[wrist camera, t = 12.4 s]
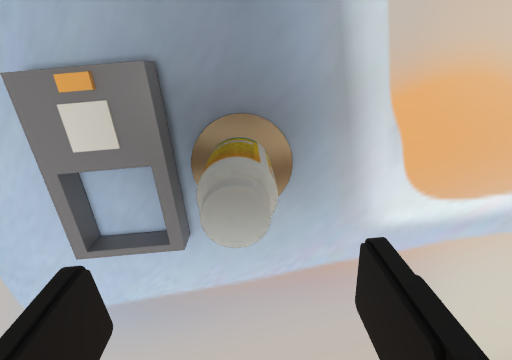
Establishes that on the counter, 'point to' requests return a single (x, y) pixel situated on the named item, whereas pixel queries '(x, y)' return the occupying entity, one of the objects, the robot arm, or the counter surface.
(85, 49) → the counter surface
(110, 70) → the gray rectangular fixture
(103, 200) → the counter surface
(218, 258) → the counter surface
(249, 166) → the supplement bottle
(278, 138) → the cork coaster
